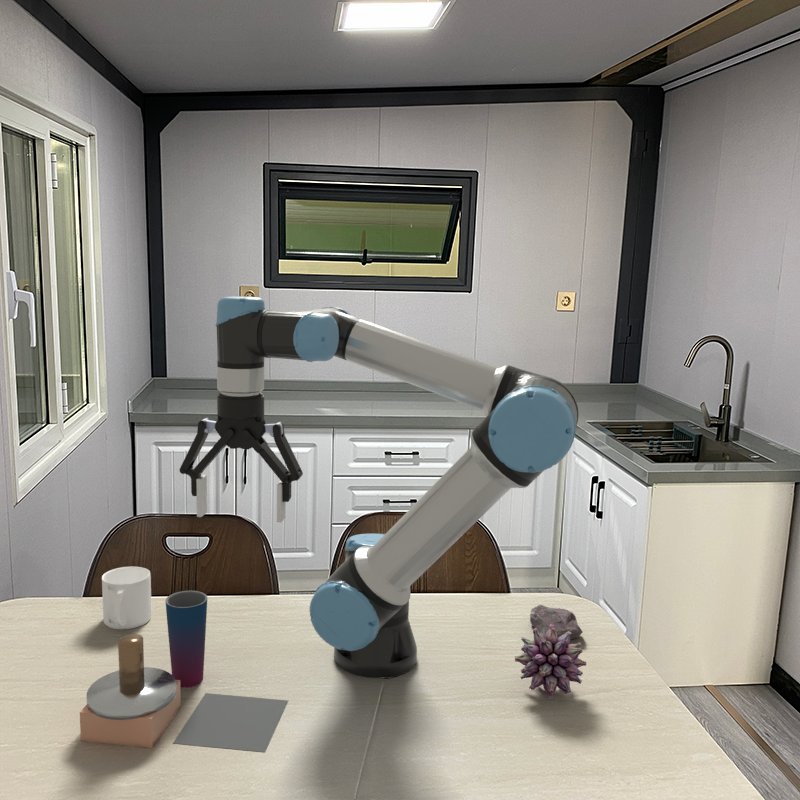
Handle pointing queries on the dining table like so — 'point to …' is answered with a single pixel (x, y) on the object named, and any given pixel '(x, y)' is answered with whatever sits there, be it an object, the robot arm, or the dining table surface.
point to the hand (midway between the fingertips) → (241, 517)
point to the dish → (129, 726)
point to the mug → (126, 597)
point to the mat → (232, 722)
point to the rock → (555, 621)
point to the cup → (187, 635)
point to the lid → (131, 685)
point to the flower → (551, 661)
